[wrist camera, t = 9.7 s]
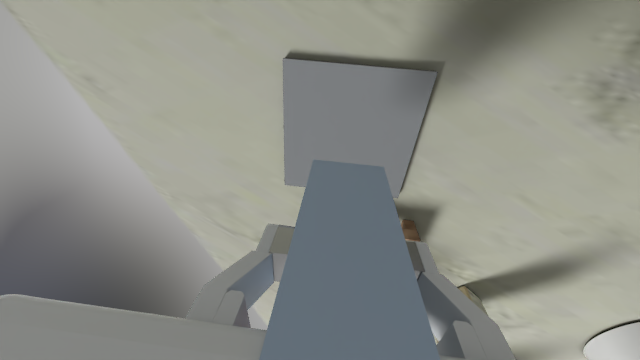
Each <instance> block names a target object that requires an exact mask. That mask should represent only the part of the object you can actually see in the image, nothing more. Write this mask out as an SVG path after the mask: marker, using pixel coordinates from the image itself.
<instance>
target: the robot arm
mask: <svg viewBox="0 0 640 360" xmlns="http://www.w3.org/2000/svg"><path fill="white" fill-rule="evenodd" d="M294 229H295V227H291V226H284V225H275V224H268V225H267V226H266V228H265V231H264V233H263V235H262V238H261V240H260V242H259V245H258V247H257V249H256V251H251V252H250V253H249V254H247V255H246V256H244V257H243V258H242V259H240V260H239V261H237V262H236V263H235V264H233V265H232V266H230V267H229V268H228V269H226V270H225V271H223V272H222V273H221V274H219V275H218V276H216V277H215V278H214V279H212V280H211V281H209V282H208V283H207V284H205V285H204V286H203V288H202V290H201V291H200V293H199V295H198V297H197V298H196V300H195V302H194V303H193V305H192V307H191V308H190V310H189V312H188V314H187V316H186V317H185V319H184V318H177V317H170V316H162V315H156V314H149V313H142V312H135V311H128V310H121V309H114V308H107V307H100V306H93V305H86V304H79V303H72V302H65V301H58V300H52V299H45V298H38V297H31V296H24V295H17V294H9V295H3V296H0V360H259V358H260V355H261V351H262V347H263V344H264V340H265V336H266V333H267V330H261V329H254V328H250V322H249V317H248V312H247V310H248V309H249V308H250V307H251V306H252V305H253V304H254V303H255V302H256V301H257V300H258V298H259V297H260V296H261V295H262V294H263V293H264V292H265V291H266V290H267V289H268V288H269V287H270V286H271V285H272V284H273V283H274V281H279V282H280V281H281V277H282V274H283V270H284V266H285V262H286V259H287V255H288V251H289V248H290V244H291V240H292V237H293V233H294ZM405 241H406V244H407V248H408V251H409V255H410V258H411V261H412V265H413V268H414V272H415V275H416V278H417V282H418V285H419V289H420V292H421V296H422V299H423V302H424V306H425V309H426V313H427V316H428V319H429V323H430V326H431V330H432V333H433V334H434V336H435V337H436V338H437V340H438V341H439V343H438V344H437V345H436V347H437V350H438V354H439V357H440V360H516V359H515V357H514V355H513V353H512V351H511V349H510V347H509V345H508V343H507V341H506V340H505V338H504V336H503V334H502V332H501V330H500V328H499V326H498V325H497V324H496V323H495V322H494V321H493V320H492V319H491V318H489V317H488V316H487V315H486V314H485V313H484V312H483V311H482V310H481V309H480V308H479V307H478V306H476V305H475V304H474V303H473V302H472V301H471V300H470V299H469V298H468V297H467V296H466V295H464V294H463V293H462V292H461V291H460V290H459V289H458V288H457V287H456V286H455V285H454V284H453V283H451V282H450V281H449V280H448V279H447V278H446V277H445V276H444V275H442V274H439V272H438V270H437V267H436V265H435V262H434V260H433V257H432V255H431V252H430V250H429V247H428V245H427V243H426V242H418V241H409V240H405ZM583 353H584V355H585V356H586V358H587V359H589V360H640V322H638V323H633V324H629V325H625V326H621V327H618V328H615V329H612V330H609V331H607V332H605V333H602V334H600V335H598V336H597V337H595V338H593V339H592V340H591V341H589V342H588V343H587V344H586V346H585V347H584V350H583Z"/></svg>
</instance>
